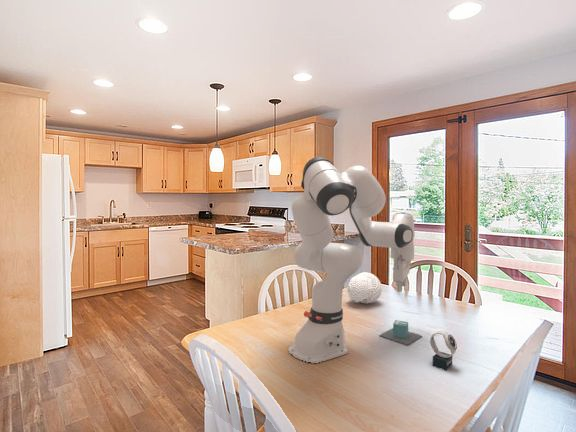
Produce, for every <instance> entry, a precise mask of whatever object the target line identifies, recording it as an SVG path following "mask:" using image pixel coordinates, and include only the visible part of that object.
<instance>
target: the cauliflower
mask: <svg viewBox="0 0 576 432" xmlns="http://www.w3.org/2000/svg"><path fill="white" fill-rule="evenodd" d="M346 290H347V294H348V298H349V299H350V300H351V301H352V302H355V303H356V304H358V303H361V304H368V303H371V304H373V303H375V302H376V301H378V299H379V298H380V297H381V294H382V292H383V287H382V283H381V281H380V279H379V278H378V277H377V276H376V275H375V274H373V273H371V272H367V271H366V272H365V271H364V272H360V273H357V274H356V275H355V276H351V278H350V280H349V283H348V284H347V288H346Z"/></svg>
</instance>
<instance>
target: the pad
mask: <svg viewBox="0 0 576 432" xmlns="http://www.w3.org/2000/svg"><path fill="white" fill-rule="evenodd" d="M378 337H381V338H383V339H387V340H389V341H392V342H395V343H398V344H401V345H403V346H407V347H408V346H410V345H411V344H413V343H415V342H416V341H418V340H419V339H421V338H423V335H421V334H417V333H414V332H411V331H409V330H408V336H407V338H406V339H404V338H399V337H393V327H392V328H390V329H388V330H386V331H384V332H382V333H381V334H379V335H378Z"/></svg>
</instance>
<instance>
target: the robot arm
mask: <svg viewBox="0 0 576 432" xmlns="http://www.w3.org/2000/svg"><path fill="white" fill-rule="evenodd" d="M300 187H301V188H302V189H303V190H304V191H303V192H302V194H300V195H297V197H295V199H294V200H293V201H292V204H291V213H292V214H291V215H292V217H293V221H294V224H295V226H296V229H297V231H298V233H299V235H300V238H301V240H302V242H300V243H299V244H298V245H297V246H296V247H295V249H294V253H293V258H294V259H293V260H294V262H295V264H296V266H297V267H299V268H301V269H305V270H307V271H313V272H322V273H326V278H325V279H323V280H320V281H318V282H317V283H315V284H314V285H313V286H312V289H311V308H310V311H307V310H306V311H305V310H304V312H303V316H304V317H305V318H308V319H307V321H306V322H305V323H304V324H303V326H301V328H300V329H299V331H298V332H296V335H295V339H294V343H293V344H292V345H291V346H289V347H288V349H287V351H289V352H288V354H290V355H291V354H292V355H293V356H292V355H291V356H292V357H294V358H296V359H298V360H300V361H302V360H303V361H302V362H305V361H306V362H305V363H308V362H311V363H310V364H314V363H316V364H318V363H319V362H320V363H323V362H326V361H328V360H332V359H335V358H338V357H341V356H344V355H347V354H348V353H349V352H348V349H347V345H346V339H345V338H346V337H345V336H346V335H345V328H344V325H343V318H344V317H343V316H344V311H343V308H342V307H343V306H342V305H343V290H344V287H345V285H346V283H347V282H348V279H350V277H352V276H353V275H354V274H355V273H357V272H358V271H359V270H360V268H361V267H362V262H363V257H362V253H361V250H360V249H359V248H358V247H357V246H356V245H351V244H348V243H342V242H332V241H333V239H334V229H333V227H332V224H331V221H330V218H329V216H333V217H334V216H337V215H340V214H343V213H345V212H346V211H347V210H349V211H348V212H349V215H350V218H351V220H352V222H353V224H354V226H355V227H356V230H357V231H358V234H359V239H360V240H361V242H362V243H363V245H364V246H366V247H379V248H390V259H393V268H392V269H393V270H392V281H393V282H396V283H395V284H396V292H399V293H402V291H403V287H406V282H407V277H408V275H409V274H410V271H411V265H412V264H411V263H412V260H414V259H415V244H414V239H415V221H414V217H413V215H412V214H410V213H405V212H397V213H394V214H392V217H391V221H375V220H370V218H373V217H375V216H377V215H378V214H379V213H380V212H382V210H383V209H384V207H385V204H386V202H387V201H386V200H387V198H386V197H387V196H386V193H385V191H384V189H383V187H382V185H381V184H380V183H379V181H378V179H377V178H376V177H375V175H373V174H372V172H370V170H368V169H367V167H365V166H362V165H352V166H349V167H348V168H347V169H345V171H342V172H340V171H339V170H338V168H336V167H335V165H334V163H333V162H332V161H331V160H329V159H328V158H325V157H323V156H316V157H312V158H310V159H309V160H308V161H307V162H306V163H305V165H304V167H303V170H302V179H301V184H300ZM322 361H323V362H322Z"/></svg>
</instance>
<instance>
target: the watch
mask: <svg viewBox="0 0 576 432" xmlns="http://www.w3.org/2000/svg"><path fill="white" fill-rule="evenodd" d="M435 335H442V337H443V339H444V343H445V346H446V348H447V349H448V350H449V351H450V353H451V354H449V353H446V352H443V351H440V349H439V347H438V345H437V344H436V340H435ZM429 339H430V341H429V342H430V347H431V349H432V350H433V352H434V353H435V354H434V355H433V356H432V366H433V367H435V368H438V369H440V368H442V369H441V370H443V369H444V371H447V370H448V369H449V368H450V367H452V366H453V357H454V354H455V353H456V351H457V349H458V345H457V341H456V339H455V338H454V336H453V335H452V334H450V333H448V332H446V331H444V330H443V331H442V330H440V331H439V330H438V331H436V332H434V333H433V334H432V335H431V337H430V338H429Z"/></svg>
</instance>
